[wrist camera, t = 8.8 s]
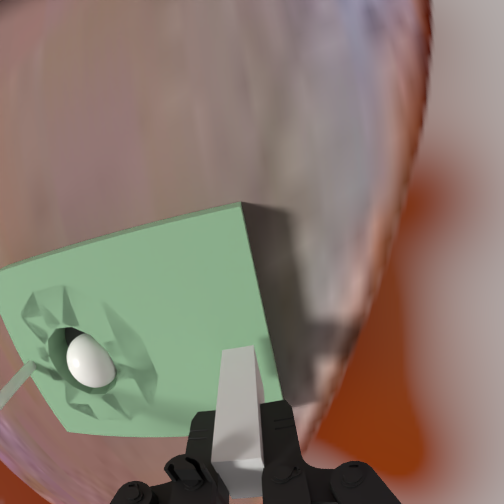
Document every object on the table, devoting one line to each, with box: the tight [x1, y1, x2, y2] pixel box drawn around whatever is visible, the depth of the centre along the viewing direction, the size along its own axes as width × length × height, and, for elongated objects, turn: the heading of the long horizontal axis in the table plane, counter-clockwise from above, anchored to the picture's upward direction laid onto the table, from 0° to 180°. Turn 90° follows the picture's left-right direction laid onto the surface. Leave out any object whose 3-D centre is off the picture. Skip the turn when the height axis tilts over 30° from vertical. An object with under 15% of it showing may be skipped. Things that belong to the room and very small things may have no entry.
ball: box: [67, 333, 117, 388], centre depth 16 cm, size 4×4×4 cm
